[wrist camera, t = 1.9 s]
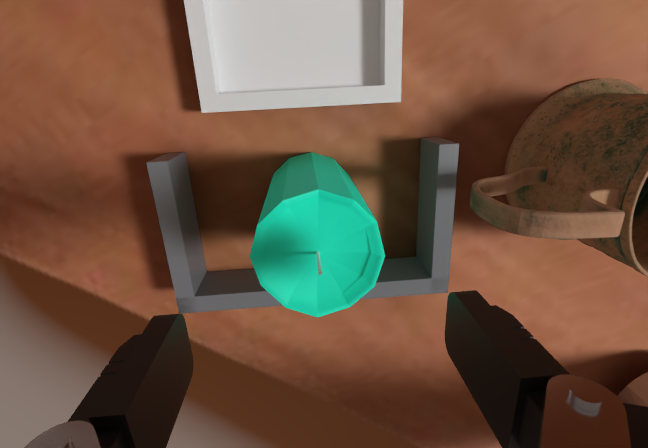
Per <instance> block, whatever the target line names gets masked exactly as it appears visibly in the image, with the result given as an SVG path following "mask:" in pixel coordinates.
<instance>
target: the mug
mask: <svg viewBox="0 0 648 448" xmlns="http://www.w3.org/2000/svg"><path fill="white" fill-rule="evenodd" d="M503 194H506V197H507V201H508V203H509V205H507V204H504V203H502V202H499V201H497V200H495V199H493V198H492V196H498V195H503ZM470 207H471V208H472V210H473V211H474V212H475V213H476V214H477V215H478V216H480V217H481V218H482V219H484V220H485V221H487V222H488V223H490V224H491V225H493V226H495V227H497V228H499V229H501V230H504V231H507V232H510V233H514V234H518V235H523V236H529V237H538V238H552V239H560V240H572V239H577V240H579V241H581V242H582V243H584V244H586V245H588V246H591V247H594V248H595V249H597V250H599V251H602V252H603V253H605V254H606V255H608V256H610V257H612V258H614V259H616V260H618V261H620V262H622V263H624V264H626V265H628V266H630V267H632V268H634V269H635V270H636V271H638V272H640V273H641V274H643V275H645V276H647V277H648V93H647V92H646V91H644V90H643V89H642V88H640V87H638V86H636V85H634V84H632V83H630V82H626V81H623V80H618V79H595V80H588V81H584V82H580V83H577V84H574V85H571V86H569V87H567V88H564V89H562V90H561V91H559V92H557V93H555V94H554V95H552V96H551V97H549V98H548V99H547V100H545V101H544V102H543V103H542V104H541V105H539V106H538V107H537V108H536V109H535V110H534V111H533V112H532V113H531V115H530V116H529V117H528V118H527V119H526V121H525V122H524V123H523V125H522V126H521V128H520V129H519V131H518V132H517V134H516V136H515V138H514V140H513V142H512V144H511V147H510V149H509V152H508V155H507V159H506V163H505V170H504V175H502V176H496V177H489V178H484V179H480V180H477V181H476V182H474V183H473V184H472V188H471V196H470Z"/></svg>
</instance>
